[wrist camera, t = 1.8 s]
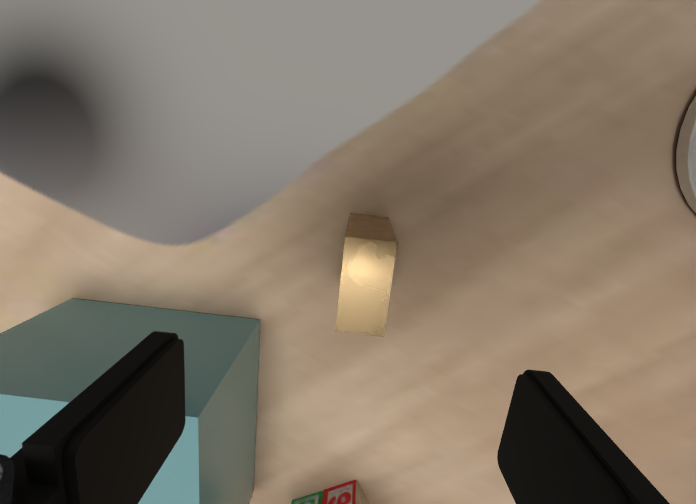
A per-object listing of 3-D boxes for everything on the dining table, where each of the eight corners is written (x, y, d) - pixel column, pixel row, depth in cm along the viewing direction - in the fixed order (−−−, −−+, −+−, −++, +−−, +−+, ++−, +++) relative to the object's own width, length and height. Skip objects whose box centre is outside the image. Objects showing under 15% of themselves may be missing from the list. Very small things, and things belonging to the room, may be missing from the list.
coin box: (260, 319, 26) (198, 417, 16) (253, 490, 30) (201, 648, 20) (72, 298, 26) (-100, 382, 16) (92, 470, 30) (-36, 617, 21)
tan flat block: (387, 217, 23) (397, 242, 17) (378, 287, 25) (384, 336, 18) (350, 213, 23) (345, 236, 17) (343, 283, 25) (335, 331, 18)
